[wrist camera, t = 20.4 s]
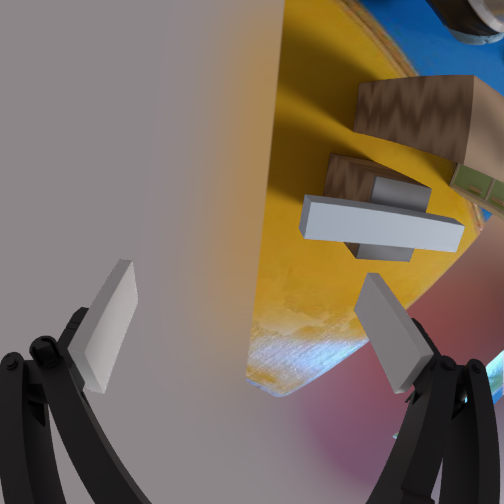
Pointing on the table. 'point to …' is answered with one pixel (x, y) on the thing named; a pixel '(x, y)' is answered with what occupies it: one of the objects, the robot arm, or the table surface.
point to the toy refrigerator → (479, 189)
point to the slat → (377, 224)
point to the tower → (437, 118)
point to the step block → (374, 197)
